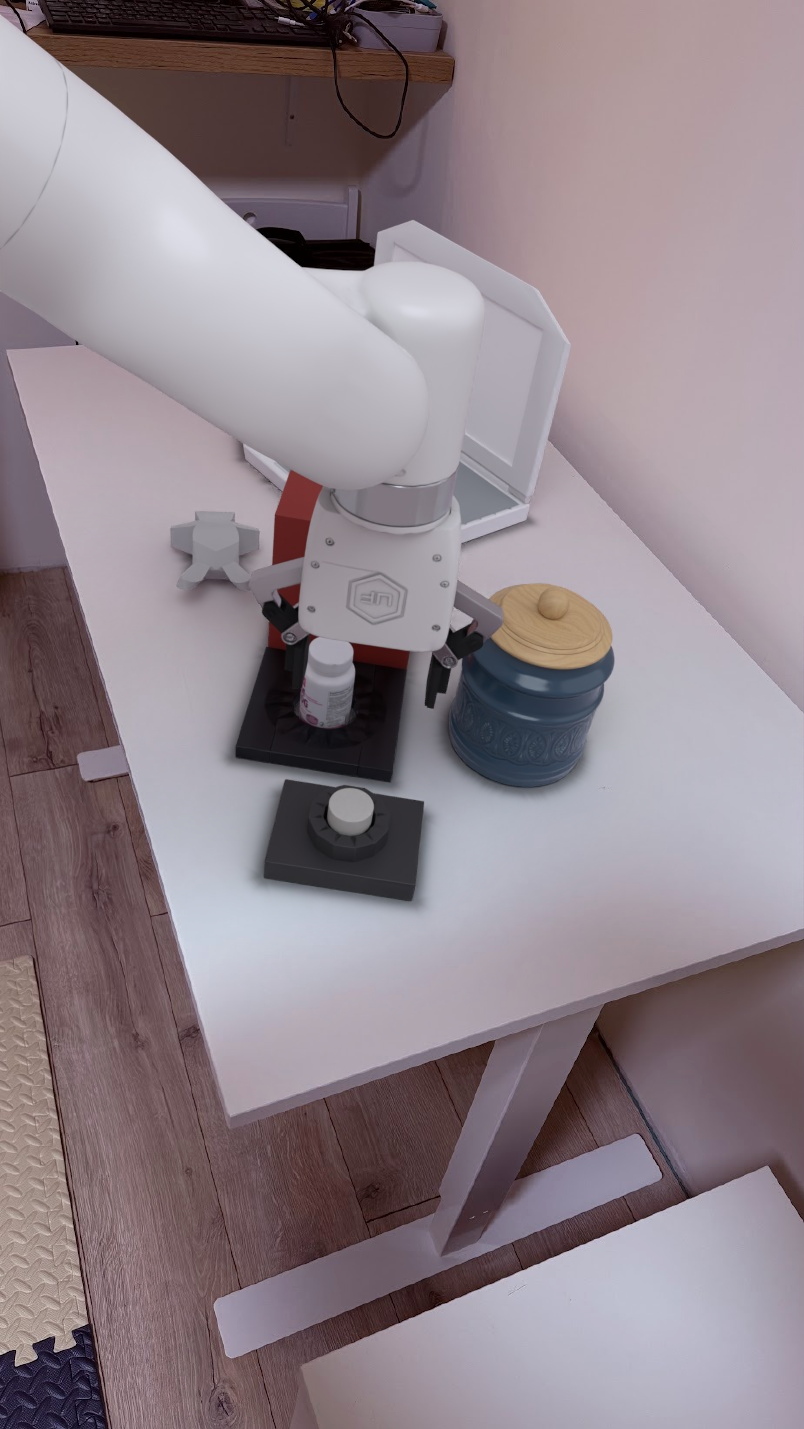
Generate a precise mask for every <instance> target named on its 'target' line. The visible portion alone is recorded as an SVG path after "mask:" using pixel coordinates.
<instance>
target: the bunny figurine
mask: <svg viewBox="0 0 804 1429" xmlns="http://www.w3.org/2000/svg"><path fill="white" fill-rule="evenodd" d="M169 532H170V547H171V548H173V549H176V550H179V551H182V552H184V553H187V554H189V555H191V556H192V564H191V565H190V566H189V567H188V568H186V569H185V570H184V571H183V572H182V573H181V575H180V577H179V579H178V581H177V582H176V587H177V588H178V589H179V590H183V591H189V590H194V589H195V588H196V587H197V586H198V585H199V584H201V582H202V581H206V580H207V579H210V580H225V581H227V582H231V583H232V584H233V586H235V587H236V588H237V590H240V591H244V592H251V590H250V588H249V581H250V578H251V574H250V573H249V572H248V571H246V570H245V569H244V568H243V567H242V566H241V565H240V556H242V555H245V554H248V553H252V552H253V551H256V550H259V549H260V532H261V530H260V529H259V528H258V527H253V526H249V525H246V524H242V523H238V522H236V512H235V511H215V510H195V511H194V521H190V522H185V523H184V522H183V523H180V524H174V525H171V526H170V529H169Z"/></svg>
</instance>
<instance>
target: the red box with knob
mask: <svg viewBox="0 0 804 1429" xmlns="http://www.w3.org/2000/svg"><path fill="white" fill-rule="evenodd" d="M322 487H323V485H320V484H318V483H316V482H314V481H312V480H310V479H308V478H306V477H304V476H302V475H300V474H298V473H296V472H294V471H293V470H290V472H289V475H288V478H287V481H286V484H285V487H284V490H283V492H282V491H281V496H280V498H279V501H278V503H277V507H276V509H275V513H274V522H273V539H272V540H273V541H272V560H271V566H272V565H275V564H279V563H283V562H287V561H290V560H294V559H298V558H302V557H305V550H306V543H307V537H308V532H309V527H310V523H311V518H312V515H313V511H314V508H315V505H316V501H317V499H318V496H319V493H320V492H321V490H322ZM300 587H301V584H297V585H293V586H289V587H285V588H281V589H278V590H277V592H278V593H279V594H281V595H282V596H283V597H284V598H285V599H286V600H287V601H288V602H289V603H290V604H291V605H292V606H294V605H296V604H297V603H298V602H299V597H300ZM267 634H268V635H267V647H272V648H278V649H284V650H286V643H284V642H283V641H282V638H281V636H282V634H281V633H280V632H279V631H278V630H277V629H276V628H275V627H274V626H273V625H272V624H271V623H270V622H269V621H268V633H267ZM316 638H318V636H315V635H312V634H310V642H309V645H310V643H311V642H312V641H313V640H314V639H316ZM349 643H350V644H351V646H352V648H353V661H358V662H364V663H370V664H376V665H383V666H389V667H395V668H401V669H407V670H408V666H409V659H410V654H411V651H406V650H399V649H392V648H385V647H378V646H371V645H365V644H358V643H352V642H349Z"/></svg>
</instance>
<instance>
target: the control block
mask: <svg viewBox="0 0 804 1429" xmlns="http://www.w3.org/2000/svg"><path fill="white" fill-rule="evenodd" d="M345 788H355V789H359V790H361V791H363V792H365V793H366V794H368V795H369V796H370V797H371V799H372V801H373V804H374V810H373V815H372V821H371V825H370V827H369V828H368V829H367V830H366V831H365V832H364V833H362V834H359V835H355V836H348V835H342V834H340V833H338V832H336V831H334V830H333V829H332V828H331V827H330V825H329V823H328V820H327V814H328V806H329V800H330V798H331V796H332V795H333V794H334V793H335V792H337V791H338V790H341V789H345ZM424 807H425V801H424V800H419V799H412V798H406V797H401V796H400V797H399V796H395V795H394V796H393V795H388V794H382V793H375V792H372V791H370V790H369V789H367V788H366V787H360V786H355V785H349V784H343V785H342V784H341V785H338V786H331V785H326V784H318V783H314V782H313V783H312V782H306V781H300V780H295V779H288V778H285V779H284V781H283V785H282V789H281V794H280V797H279V802H278V806H277V809H276V814H275V817H274V822H273V825H272V829H271V833H270V838H269V842H268V846H267V851H266V854H265V858H264V863H263V864H264V866H263V878H264V879H268V880H274V881H281V882H287V883H294V884H299V885H305V886H311V887H312V886H313V887H318V888H325V889H331V890H338V891H344V892H350V893H357V894H362V895H368V896H376V897H381V898H388V899H393V900H394V899H395V900H401V901H406V902H412V901H413V896H414V893H415V889H416V885H417V884H416V881H417V874H418V873H417V872H418V864H419V855H420V847H421V846H420V845H421V836H422V826H423V819H424V818H423V817H424Z"/></svg>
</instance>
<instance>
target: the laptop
mask: <svg viewBox="0 0 804 1429" xmlns="http://www.w3.org/2000/svg"><path fill="white" fill-rule="evenodd" d="M373 261H374V262H373V266H375V265H378V264H382V263H387V262H397V261H413V262H422V263H428V264H433V265H437V266H440V267H444V268H446V269H449V270H452V271H454V272H456V273H459V274H461V275H462V276H464V277H466V278H467V279H469V280H470V281H471V282H472V283H473V284H474V285H475V286H476V287H477V289H478V290H479V291H480V293H481V295H482V298H483V300H484V304H485V324H484V331H483V337H482V342H481V348H480V353H479V358H478V364H477V369H476V374H475V380H474V385H473V390H472V396H471V401H470V406H469V412H468V417H467V422H466V428H465V433H464V439H463V444H462V449H461V455H460V460H459V465H458V471H457V476H456V482H455V487H454V492H453V496H454V497H455V498H456V499H457V501H458V503H459V506H460V514H461V544H464V543H466V542H469V541H472V540H474V539H477V538H481V537H484V536H486V535H488V534H492V533H494V532H497V531H500V530H502V529H505V528H508V527H512V526H514V525H516V524H520V523H522V522H525V521H527V520H528V519H527V518H528V514H529V511H530V507H531V506H530V505H531V504H530V503H529V502H530V501H531V500H532V496H534V494H535V489H536V486H537V483H538V478H539V474H540V470H541V466H542V462H543V459H544V454H545V451H546V447H547V444H548V440H549V435H550V431H551V428H552V424H553V420H554V415H555V413H556V412H555V411H556V408H557V404H558V400H559V396H560V392H561V388H562V385H563V381H564V376H565V374H566V373H565V372H566V368H567V365H568V361H569V356H570V353H571V349H572V344H571V342H570V341H569V339H568V337H567V336H566V334H565V332H564V330H563V328H562V327H561V325H560V324H559V322H558V320H557V319H556V317H555V315H554V313H553V312H552V310H551V308H550V307H549V305H548V303H547V302H546V300H545V298H544V297H543V295H542V293H541V292H540V290H539V289H538V288H536V287H535V286H533V285H531V284H530V283H527V282H526V281H524V280H522V279H521V278H519V277H517V276H515V275H514V274H512V273H510V272H508V271H507V270H504V269H503V268H501V267H499V266H497V265H495V264H494V263H492V262H490V261H488V260H486V259H485V258H484V257H481V256H479V255H477V254H476V253H474V252H472V251H471V250H468V249H467V248H465V247H463V246H462V245H460V244H457V243H456V242H454V241H452V240H450V239H449V238H447V237H445V236H444V235H442V234H440V233H438V232H436V231H434V230H433V229H431V228H429V227H427V226H426V225H423V224H421V223H420V222H418V221H416V220H414V219H411V220H408V221H406V222H403V223H400V224H397V225H394V226H391V227H388V228H386V229H383V230H380V231H377V235H376V244H375V253H374V260H373ZM242 447H243V453H244V458H245V461H246V462H248V463H249V464H250V466H252V467H253V468H254V469H256V471H258V472H259V473H260V474H262V476H264V477H265V478H266V479H267V480H268V481H270V483H272V484H273V485H274V486H275V487H276V488H278V490H280V491H281V493H282V492H283V490H284V487H285V484H286V481H287V478H288V475H289V472H290V470H291V469H289V468H287V467H285V466H283V465H282V464H280V463H278V462H276V461H274V460H272V459H270V458H268V457H267V456H265V455H263V454H261V453H259V452H257V451H256V450H254V449H252V448H250V447H249V446H247V445H245V444H243V443H242Z"/></svg>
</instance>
